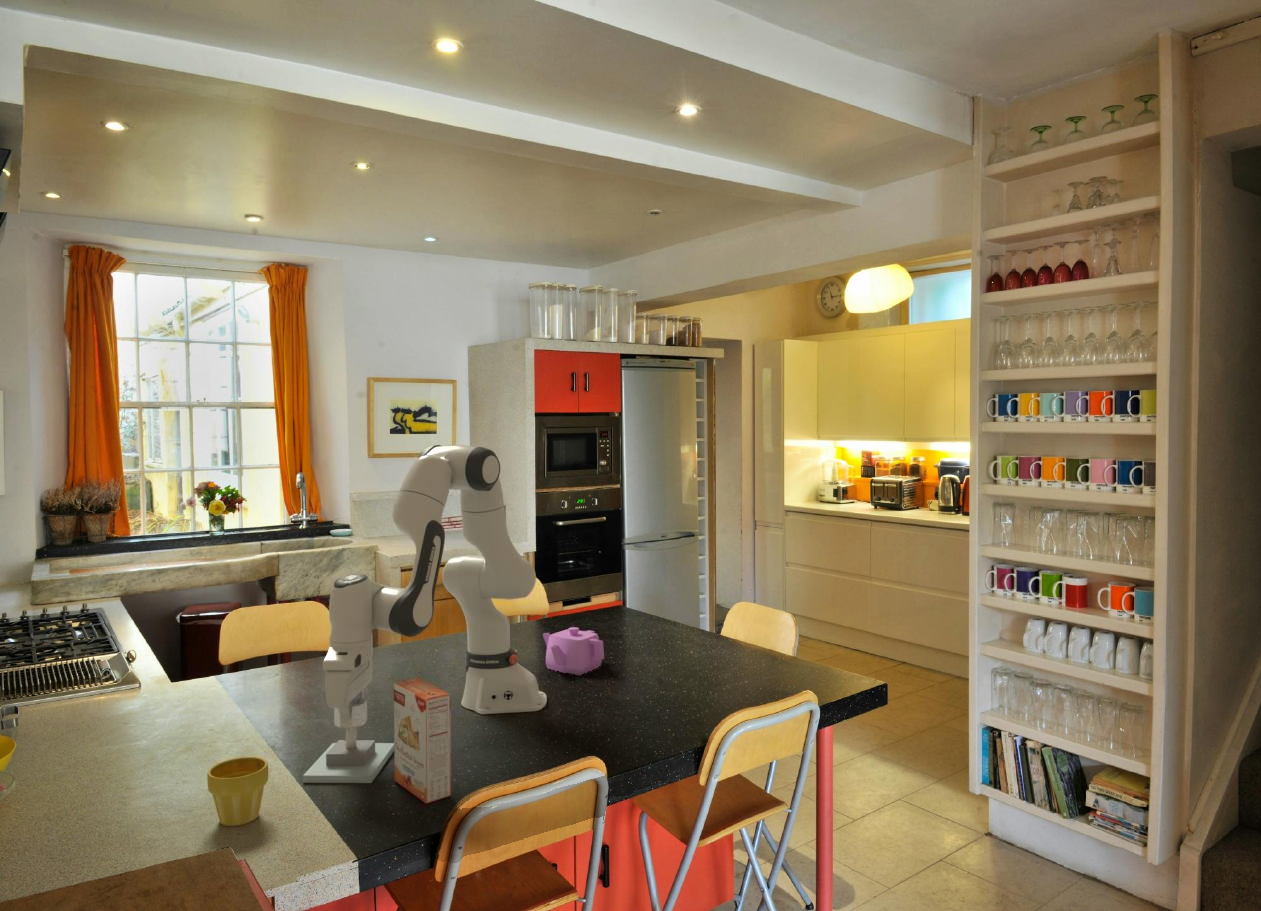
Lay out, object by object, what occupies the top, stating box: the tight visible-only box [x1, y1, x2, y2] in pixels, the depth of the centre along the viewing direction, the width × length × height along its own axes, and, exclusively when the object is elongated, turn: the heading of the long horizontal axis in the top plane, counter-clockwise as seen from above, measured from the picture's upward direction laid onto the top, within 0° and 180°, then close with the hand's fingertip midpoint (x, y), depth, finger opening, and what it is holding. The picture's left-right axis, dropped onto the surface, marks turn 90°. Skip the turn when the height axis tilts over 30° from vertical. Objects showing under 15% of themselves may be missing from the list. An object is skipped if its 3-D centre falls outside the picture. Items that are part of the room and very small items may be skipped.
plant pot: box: [206, 756, 269, 827], centre depth 159 cm, size 10×10×10 cm
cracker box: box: [393, 677, 452, 804], centre depth 172 cm, size 14×6×21 cm, turn 41°
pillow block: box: [302, 727, 394, 784], centre depth 184 cm, size 14×18×8 cm
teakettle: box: [542, 626, 605, 676], centre depth 259 cm, size 17×17×12 cm
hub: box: [333, 698, 368, 729], centre depth 184 cm, size 6×6×4 cm
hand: (351, 715), depth 184 cm, fingers closed on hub, 6 cm apart
